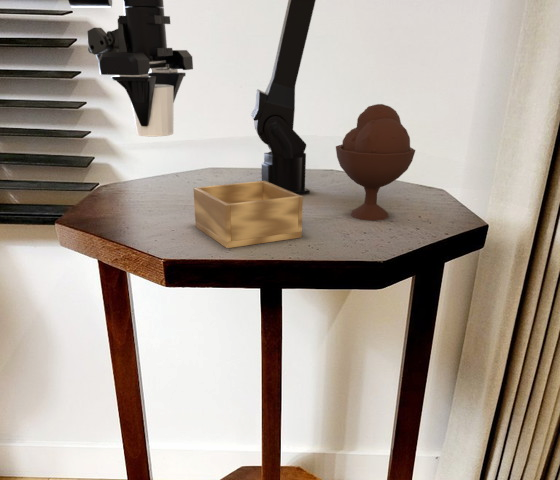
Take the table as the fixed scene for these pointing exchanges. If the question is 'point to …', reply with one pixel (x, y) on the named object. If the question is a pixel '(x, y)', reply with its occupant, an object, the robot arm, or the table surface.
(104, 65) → the robot arm
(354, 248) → the table surface
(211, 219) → the box
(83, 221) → the table surface
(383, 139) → the ice cream bowl
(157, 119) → the white cup
